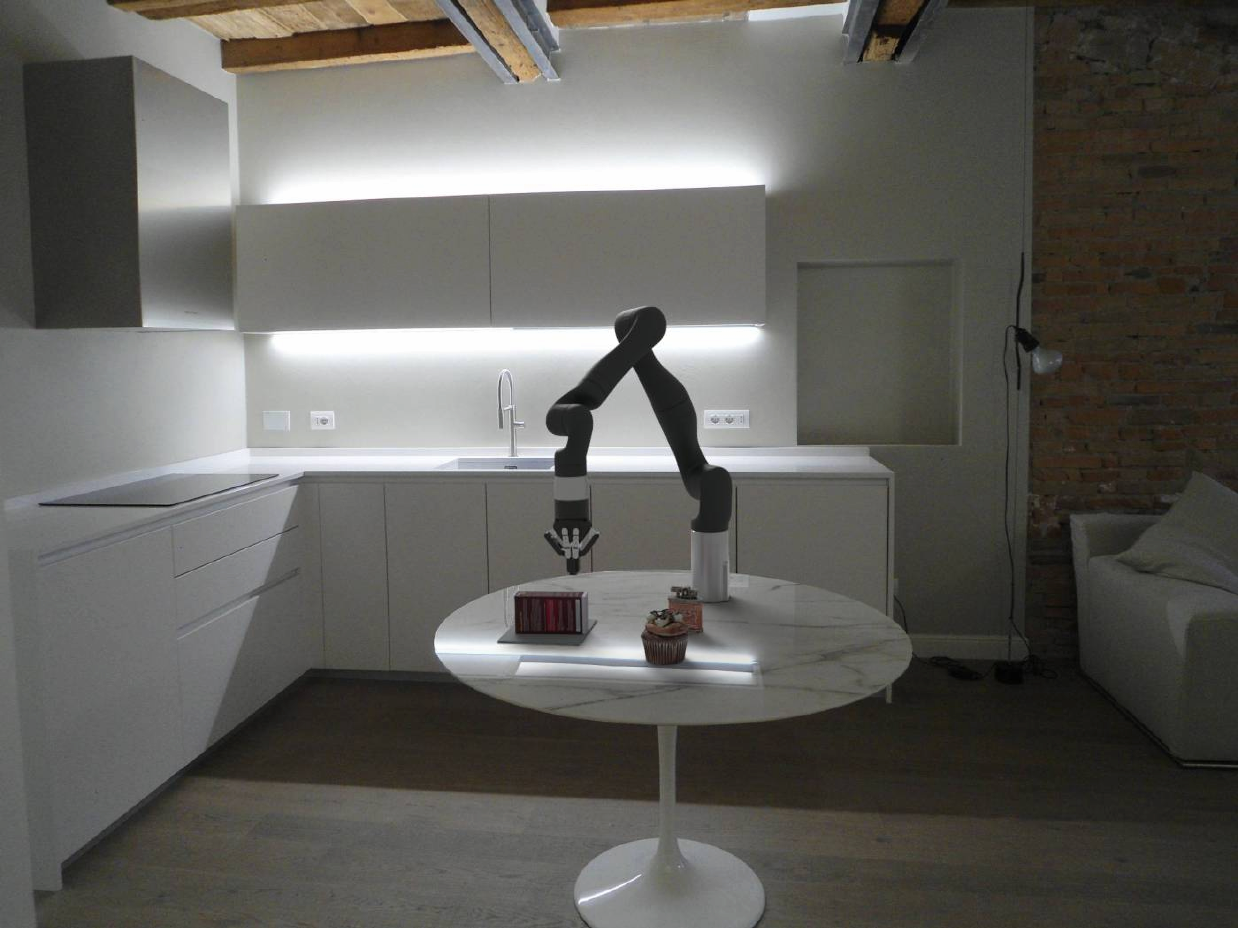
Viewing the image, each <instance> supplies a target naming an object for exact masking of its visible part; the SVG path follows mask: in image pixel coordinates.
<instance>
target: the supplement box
mask: <svg viewBox="0 0 1238 928" xmlns="http://www.w3.org/2000/svg"><path fill="white" fill-rule="evenodd" d="M513 604H514V609H513V610H514V624H515V634H516V633H523V634H524V633H525V634H586V633H587V631H588V629H589V592H588V591H548V590H547V591H543V590H542V591H540V590H539V591H536V590H533V591H532V590H531V591H530V590H529V591H527V590H526V591H524V590H523V591H521V590H519V591H517V592H516V593H515V595H513Z"/></svg>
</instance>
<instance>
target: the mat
mask: <svg viewBox="0 0 1238 928" xmlns="http://www.w3.org/2000/svg"><path fill="white" fill-rule="evenodd" d="M596 621H597V622H598V619H597V618H596V619H595V618H594V619H593V618H591V619H589V629H588V631H587V633H586V634H525V633H524V634H523V633H516V634H515V623H514V624H512V625H511V626H510V627H509V628H508V629H507V630H506V631H505V632H504V633H503V635H501V636H500V637H499V638H498V639H497V640H496V643H497V642H501V644H502V643H503V642H504V643H503V644H527V645H528V644H529V645H553V646H554V645H555V646H580V645H581V644H582V643H583V641H584V640H585V639H586V638H587V635H589V633H590V631H592V629H593V628H594V626H595V625H596V623H597V622H596ZM591 628H592V629H591Z"/></svg>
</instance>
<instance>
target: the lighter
mask: <svg viewBox="0 0 1238 928" xmlns="http://www.w3.org/2000/svg"><path fill="white" fill-rule="evenodd" d="M670 592H671V593H675V594H670V595H667V601H668V609H669V610H670V613H671V612H672V613H678V614H681V615H682V621H683V623H684V624H685V625H686V630H687V632H688V635H689V634H690V635H692V634H693V635H701V634H703V633H704V627H703V626H704V625H703V624H704V623H703V622H704V621H703V603H704V602H703V598H700V597H697V594H698V589H696V588H692V586H690V585H686V586H684V587H683V586H680V585H671V587H670Z"/></svg>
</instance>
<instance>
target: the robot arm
mask: <svg viewBox="0 0 1238 928" xmlns="http://www.w3.org/2000/svg"><path fill="white" fill-rule="evenodd" d="M613 323H614V325H613V326H614V327H613V329H614V333H615V337H616V340H617V342H618V344H617V345H616V346H615V347H613V349H610V351H608V353H606V354H605V355H603V356H602V357H601V358H600V359H598V360H597V361H596V362H595V363H594V364H593V365H591V367H589V368H588V370H587V371H586V372H585V373H584V375H583V376H582V377H581V378H580V380H579V381H578V383H577V384H576V385H575V386H574V387H573V388H571V389H570V390H569V391H566V393H564V394H563V395H562V396H561V397H559V398H558V399H556V401H555V402H553V403H552V405H551V406H550V407H549V409H548V411H547V413H546V416H545V426H546V428H547V430H548V432H549V433H551V434H552V435H554V436H557V437H567V440H566V444H565V446H564V447H560V448H558V449H556V450H555V452H554V456H553V458H554V459H553V461H554V464H553V465H554V483H553V500H554V501H553V503H554V504H553V505H554V508H553V509H554V522H553V524H552V528H551V529H549V530H548V531H546V532H545V533H544V534H543V537H544V539H545V540H546V541H547V543H548V544H549V545H550V546H551V547H552V549H553V550H554V551H555V553H556V554H557V555H558V556H562V557H564V558H565V560H566V565H565V566H566V572H567V573H568V574H569V576H577V575H578V574H579V573H580V571H581V569H582V567H581V563H582V562H581V558H582V557H585V556H586V555H588V553H589V552H590V551H591V550H592V548H593V547H594V546H595V544H596V543H597V542H598V540H599V539H600V538H601V537H602V532H601V531H597V530H596V529H594V527H592V526H593V524H592V521H591V520H590V492H589V491H590V489H589V479H588V464H587V463H588V459H587V457H588V452H589V449H590V443H591V439H592V435H593V431H594V417H593V415H592V411H594V410H596V409H599V408H600V407H601V406H602V405H603V404H604V403H605V401H606V400H607V398H608V397H609V396H610V395H611V393H613V390H614V389H615V388H616V387H617V386H618V384H619V383H621V380H623V378H624V377H625V376H626V375H627V374H628V373H629V371H630V370H631V369H632V368H633V370H634V372H635V374H636V376H637V377H638V380H639V382H640V384H641V386H642V388H643V390H644V392H645V394H646V397H647V398H648V400H649V401H648V402H649V404H650V406H651V408H652V411H653V413H654V415H655V417H656V420H657V422H658V424H659V425H660V426H659V427H660V428H661V430H662V431H663V434H664V436H665V440H666V441H667V443H668V445H669V447H670V449H671V451H672V454H673V457H674V458H675V461H676V465H677V468H678V472H679V473H680V477H681V480H682V483H683V486H684V488H685V491H686V492H687V493H688V495H689V496H690V497H692V498H693V499H695V500H696V501H699V509H698V510H699V511H698V514H697V515H695V516H693V517H692V518H691V520H690V561H691V563H690V565H691V566H690V567H691V569H690V570H691V588H696V589H698V594H697V597H700V598H703V603H707V602H708V603H716V602H728V601H729V598H730V594H731V593H730V556H729V553H730V552H729V549H730V548H729V525H730V524H729V523H730V520H731V519H732V514H733V513H732V512H733V495H734V494H733V490H734V489H733V479H732V476H731V474H730V472H729V471H728V470H727V469H726V468H725V467H722V466H720V465H714V464H710V463H709V461H708V460H707V459H706V457H705V455H704V453H703V451H702V449H701V445H700V444H699V443H700V442H699V439H698V418H697V417H698V416H697V412H696V409H695V406H694V403H693V402H692V399H691V397H690V395H689V392H688V390H687V388H686V387H685V385H684V384H683V383H681V381H680V380H679V379H678V378H677V377H676V376H675V375H674V374H672V372H670V371H669V370H668V369H667V368H666V367H665V366H663V364H662V363H661V362H660V361H659V360H658V358H657V356H656V355H655V352H654V350H653V349H654V347H656V346H657V345H658V344H659V343H660V342H661V341H662V340H663V338H664V337H665V335H666V332H667V319H666V317H665V315H664V312H662V310H661V309H660V308H659V307H656V306H653V305H644V306H638V307H635V308H631V309H626V310H624V311H621V312H619V313H618V314H617V315H616V317H615V320H614V322H613ZM587 535H589V536H588V539H589V541H588V542H587V544H586V545H585V546H584V547H583V549H582V544H583V541H584V540H585V538H586V537H587ZM557 536H558V537H559V539H560V540H561V541H562V543H563V544H561V542H560V541H559V540H558V539H557Z"/></svg>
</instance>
